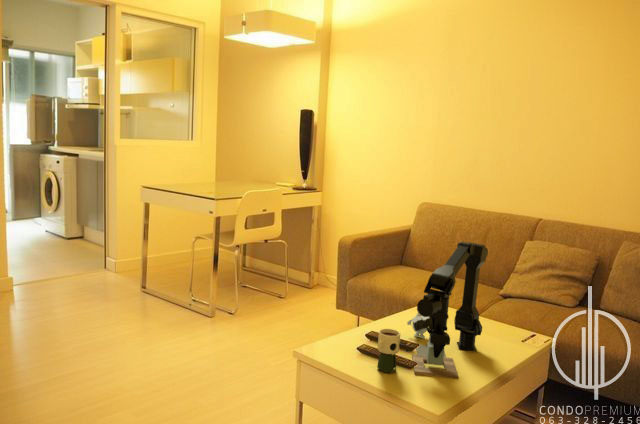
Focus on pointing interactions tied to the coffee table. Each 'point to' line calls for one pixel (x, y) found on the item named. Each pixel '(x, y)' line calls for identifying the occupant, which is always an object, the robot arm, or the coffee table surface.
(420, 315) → the toy figure
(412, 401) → the coffee table surface
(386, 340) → the character mug
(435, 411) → the coffee table surface
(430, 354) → the slate block
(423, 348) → the rubber mat
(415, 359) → the walnut pocket plate
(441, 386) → the coffee table surface
